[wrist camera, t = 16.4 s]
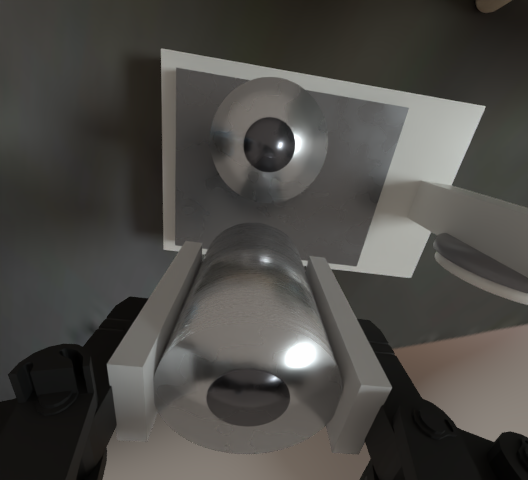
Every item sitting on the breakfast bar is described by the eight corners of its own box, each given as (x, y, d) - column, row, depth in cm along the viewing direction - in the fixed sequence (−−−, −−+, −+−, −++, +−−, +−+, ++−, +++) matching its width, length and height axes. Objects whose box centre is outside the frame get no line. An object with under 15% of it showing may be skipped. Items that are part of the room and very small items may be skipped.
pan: (177, 241, 21) (175, 245, 20) (179, 70, 16) (176, 67, 15) (353, 261, 22) (356, 266, 21) (402, 108, 17) (409, 107, 17)
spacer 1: (230, 90, 16) (213, 66, 10) (308, 103, 16) (341, 88, 10) (224, 171, 18) (206, 195, 12) (293, 181, 18) (314, 209, 12)
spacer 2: (206, 216, 12) (147, 315, 6) (309, 229, 12) (367, 335, 6) (201, 302, 14) (154, 451, 7) (291, 311, 14) (319, 460, 8)
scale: (174, 235, 24) (81, 358, 11) (175, 60, 19) (-6, -91, 6) (413, 264, 26) (563, 395, 13) (477, 113, 21) (843, 89, 8)
